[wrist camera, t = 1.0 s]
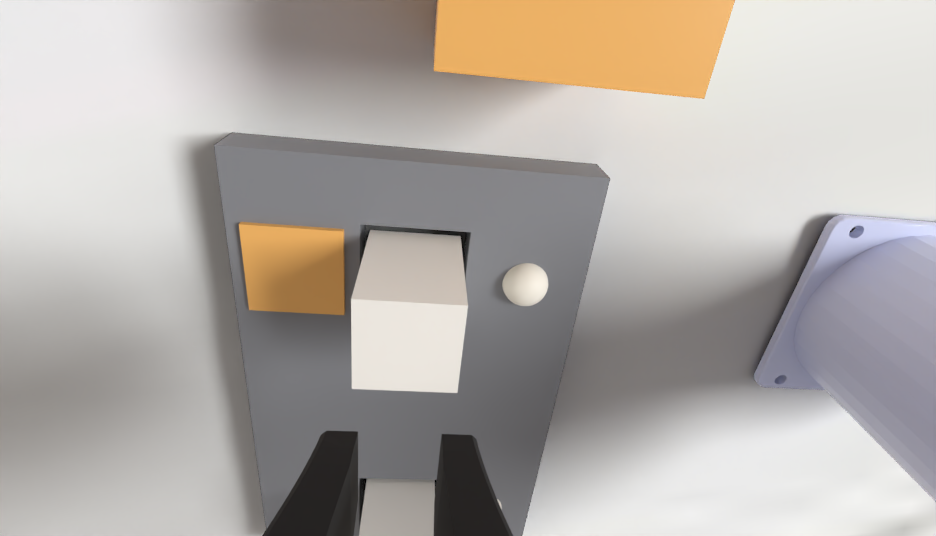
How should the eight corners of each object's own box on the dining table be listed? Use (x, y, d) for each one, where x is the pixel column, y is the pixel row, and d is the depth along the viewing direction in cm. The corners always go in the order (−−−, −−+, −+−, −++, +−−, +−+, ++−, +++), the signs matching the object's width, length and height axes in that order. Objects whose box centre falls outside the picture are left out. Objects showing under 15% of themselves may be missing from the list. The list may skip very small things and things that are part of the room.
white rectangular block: (460, 236, 17) (468, 305, 13) (452, 310, 18) (457, 393, 14) (370, 229, 17) (351, 299, 13) (369, 306, 18) (351, 388, 14)
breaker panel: (596, 164, 17) (618, 186, 15) (512, 531, 27) (518, 576, 25) (232, 132, 16) (202, 152, 14) (278, 529, 25) (265, 575, 23)
